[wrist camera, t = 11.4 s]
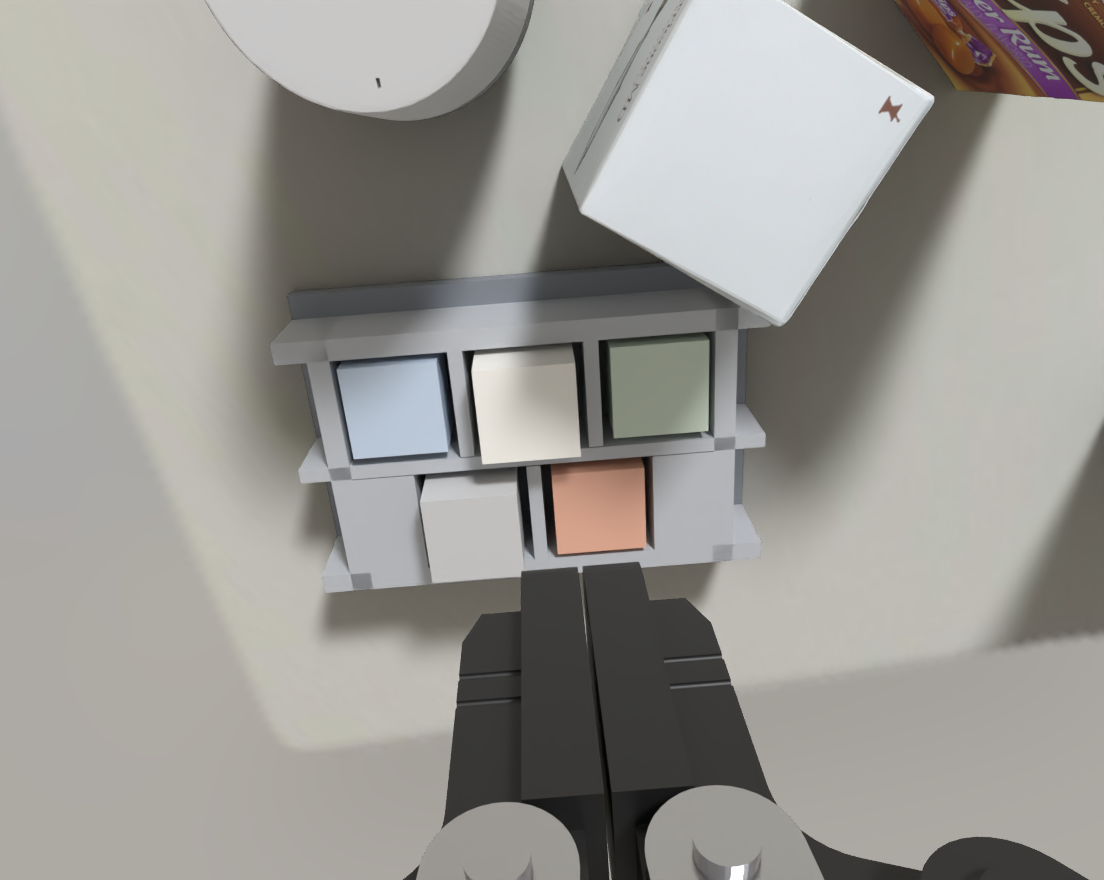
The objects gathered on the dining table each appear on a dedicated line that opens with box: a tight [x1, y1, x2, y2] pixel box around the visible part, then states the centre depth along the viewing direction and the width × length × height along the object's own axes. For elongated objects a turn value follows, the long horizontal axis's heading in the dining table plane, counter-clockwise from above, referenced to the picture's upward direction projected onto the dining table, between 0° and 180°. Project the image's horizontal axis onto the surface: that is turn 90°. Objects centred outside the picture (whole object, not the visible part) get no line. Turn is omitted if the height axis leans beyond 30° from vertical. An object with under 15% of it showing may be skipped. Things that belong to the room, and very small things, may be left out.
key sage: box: [604, 332, 709, 438], centre depth 35 cm, size 4×4×3 cm
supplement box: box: [562, 0, 934, 327], centre depth 28 cm, size 7×7×13 cm
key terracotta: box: [551, 457, 646, 554], centre depth 37 cm, size 4×4×3 cm
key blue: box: [337, 352, 454, 459], centre depth 35 cm, size 4×4×3 cm
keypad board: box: [269, 262, 770, 593], centre depth 37 cm, size 20×14×4 cm
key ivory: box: [471, 342, 581, 464], centre depth 33 cm, size 4×4×3 cm
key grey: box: [420, 467, 525, 583], centre depth 36 cm, size 4×4×3 cm
